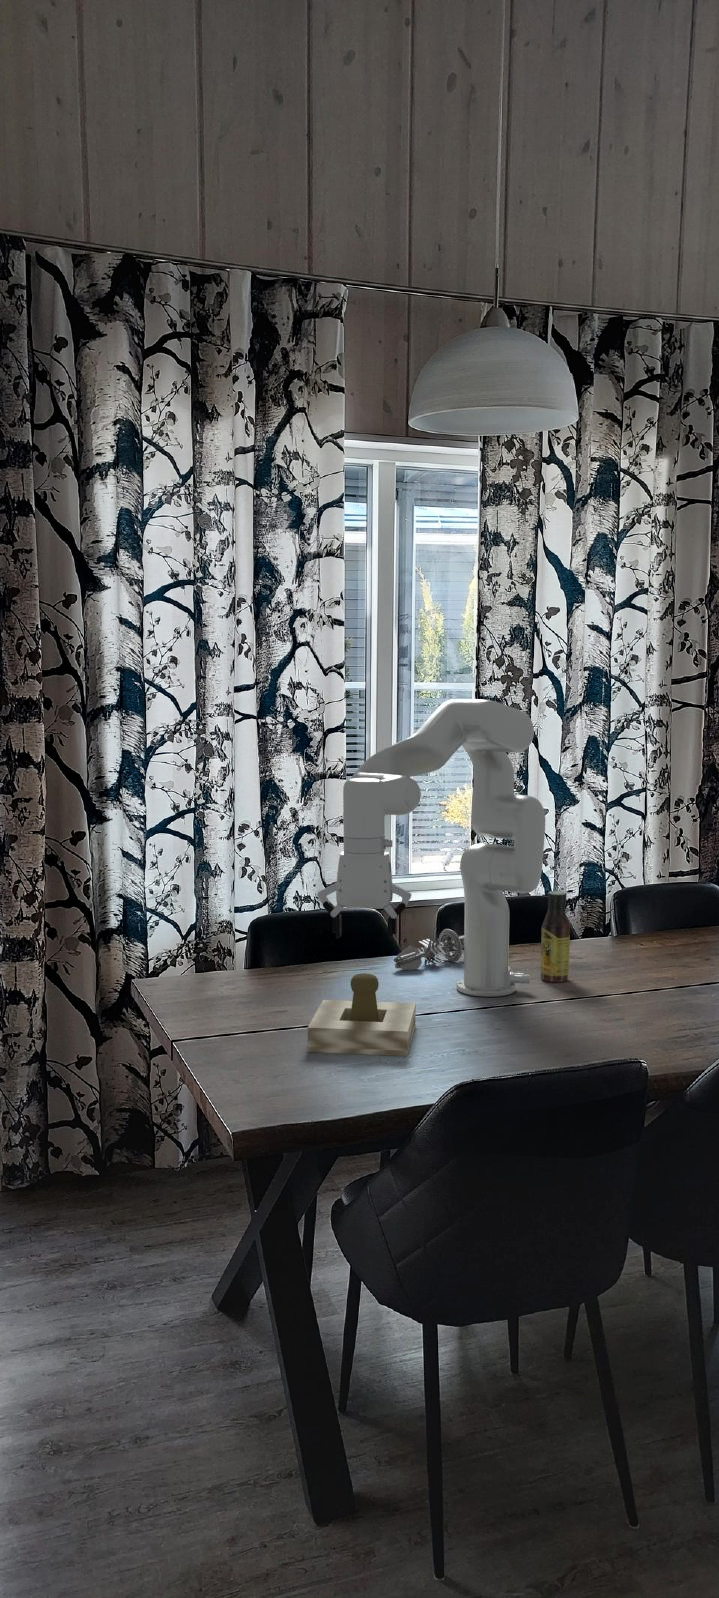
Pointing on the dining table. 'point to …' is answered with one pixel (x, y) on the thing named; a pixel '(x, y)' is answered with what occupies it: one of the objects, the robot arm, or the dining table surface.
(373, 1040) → the socket block
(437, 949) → the spaceship
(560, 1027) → the dining table surface
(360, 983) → the cork
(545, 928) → the sauce bottle
